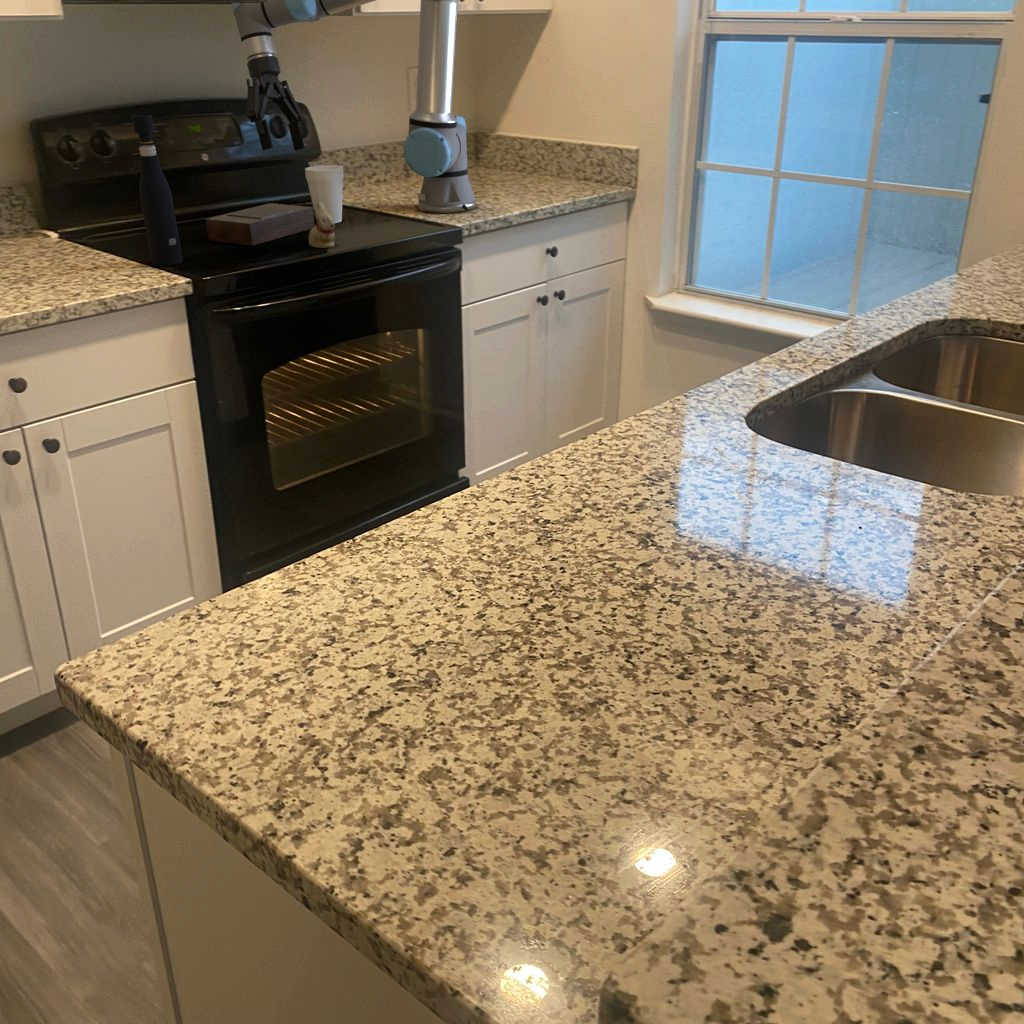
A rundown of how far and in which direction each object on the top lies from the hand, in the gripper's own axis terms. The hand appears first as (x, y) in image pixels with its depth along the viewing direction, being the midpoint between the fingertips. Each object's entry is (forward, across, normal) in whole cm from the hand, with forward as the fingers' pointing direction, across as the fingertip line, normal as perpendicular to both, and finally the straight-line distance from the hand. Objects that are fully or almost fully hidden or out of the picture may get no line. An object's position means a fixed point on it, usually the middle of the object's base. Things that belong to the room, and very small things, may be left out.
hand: (284, 149), depth 254 cm
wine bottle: (+23, +45, -6) cm, 51 cm away
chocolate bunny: (+26, +20, +17) cm, 37 cm away
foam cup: (+19, -5, +5) cm, 20 cm away
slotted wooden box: (+19, +13, -3) cm, 24 cm away
